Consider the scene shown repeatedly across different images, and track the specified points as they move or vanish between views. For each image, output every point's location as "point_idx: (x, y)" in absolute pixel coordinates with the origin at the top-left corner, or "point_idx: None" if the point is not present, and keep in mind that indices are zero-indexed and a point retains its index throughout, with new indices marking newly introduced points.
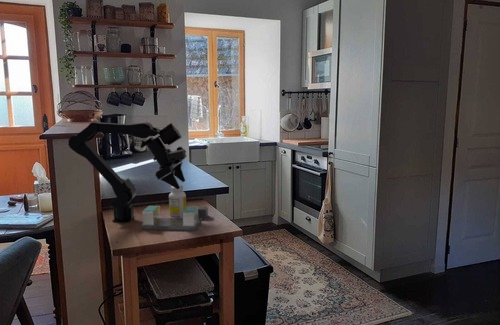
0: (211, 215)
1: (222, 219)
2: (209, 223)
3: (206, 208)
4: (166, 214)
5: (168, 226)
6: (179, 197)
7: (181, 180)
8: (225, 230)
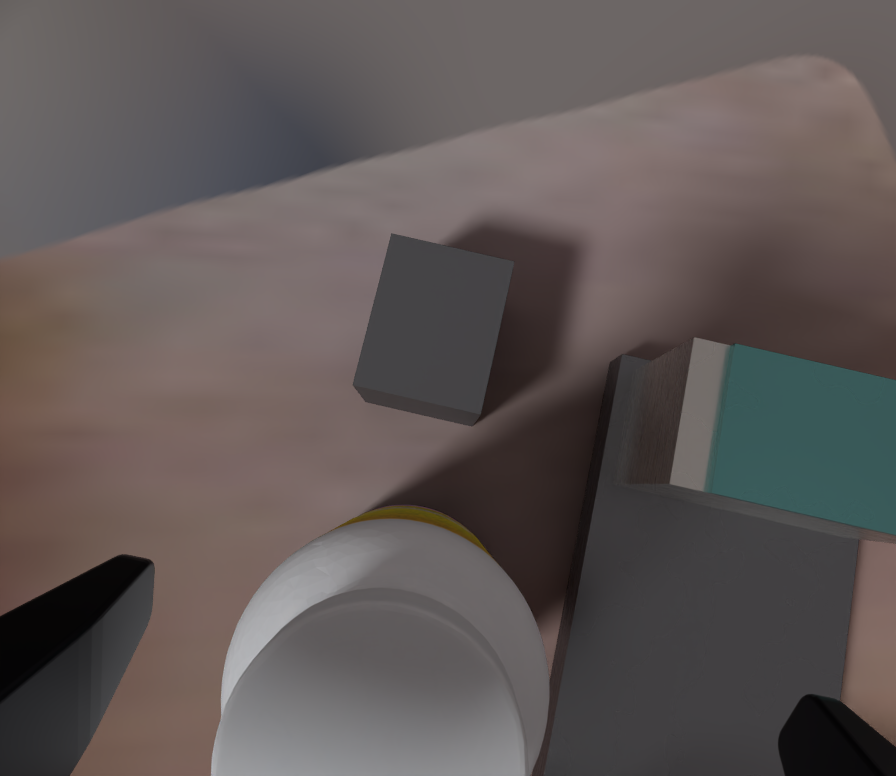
0: None
1: (540, 141)
2: (646, 272)
3: (468, 251)
4: None
5: None
6: (539, 638)
7: (113, 678)
8: (851, 146)
